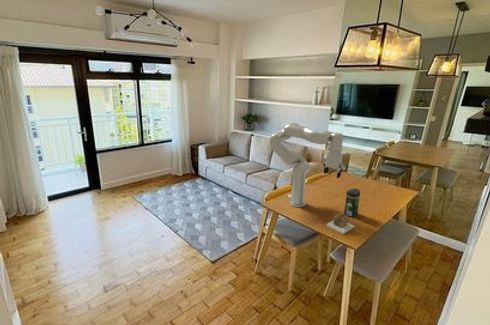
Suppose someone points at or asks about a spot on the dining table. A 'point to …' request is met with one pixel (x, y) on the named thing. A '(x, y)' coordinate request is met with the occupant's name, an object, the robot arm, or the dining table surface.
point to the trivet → (341, 230)
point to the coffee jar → (352, 202)
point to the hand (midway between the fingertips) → (332, 175)
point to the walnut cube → (340, 220)
